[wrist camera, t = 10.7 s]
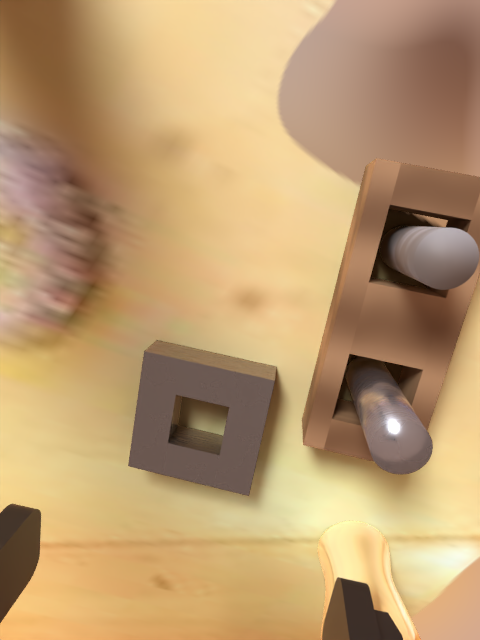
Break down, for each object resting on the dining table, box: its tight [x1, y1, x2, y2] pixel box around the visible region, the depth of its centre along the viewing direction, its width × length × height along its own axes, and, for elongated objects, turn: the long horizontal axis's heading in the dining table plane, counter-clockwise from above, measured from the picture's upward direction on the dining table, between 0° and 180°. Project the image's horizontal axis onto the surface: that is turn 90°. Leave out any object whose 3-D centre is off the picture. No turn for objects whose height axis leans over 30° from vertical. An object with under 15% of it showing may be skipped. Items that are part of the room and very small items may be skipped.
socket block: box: [128, 340, 276, 496], centre depth 34 cm, size 10×10×3 cm
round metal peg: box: [345, 356, 433, 474], centre depth 28 cm, size 3×3×11 cm
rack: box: [302, 158, 480, 462], centre depth 27 cm, size 20×8×9 cm, turn 169°
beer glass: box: [318, 521, 421, 640], centre depth 30 cm, size 7×7×15 cm
